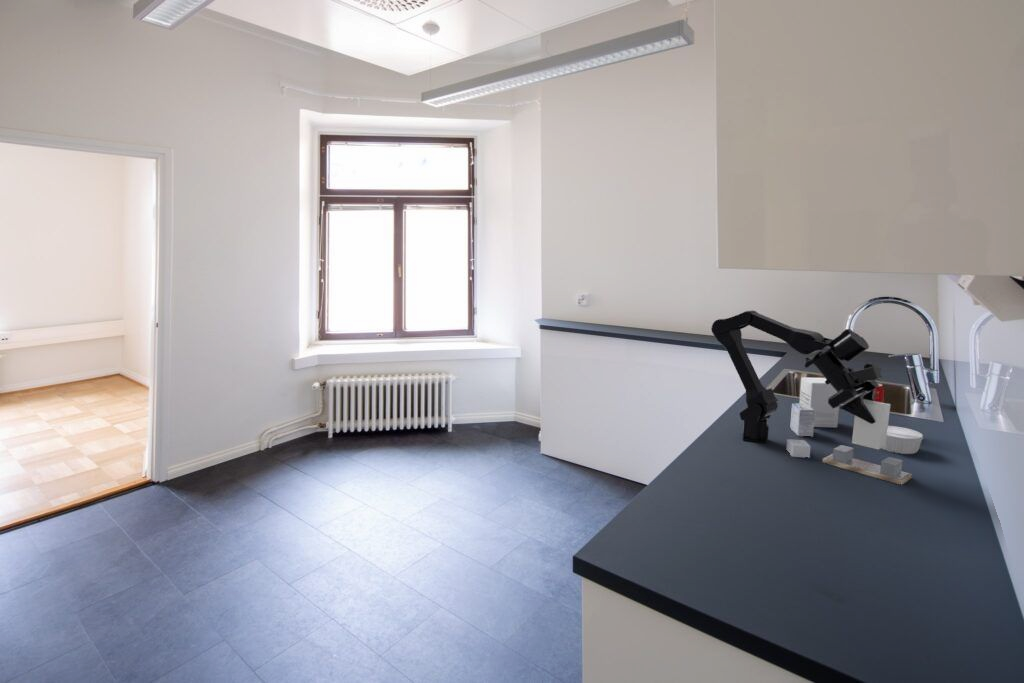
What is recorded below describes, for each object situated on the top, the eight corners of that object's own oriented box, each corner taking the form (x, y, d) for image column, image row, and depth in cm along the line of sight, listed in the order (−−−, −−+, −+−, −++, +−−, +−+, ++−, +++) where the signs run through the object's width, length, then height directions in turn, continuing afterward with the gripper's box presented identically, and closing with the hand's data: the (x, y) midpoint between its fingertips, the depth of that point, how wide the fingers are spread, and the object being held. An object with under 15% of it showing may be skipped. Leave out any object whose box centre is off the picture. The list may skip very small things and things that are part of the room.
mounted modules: (832, 459, 139) (833, 448, 139) (840, 455, 142) (841, 444, 142) (894, 476, 128) (895, 465, 128) (901, 471, 131) (902, 460, 131)
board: (822, 462, 140) (822, 458, 140) (833, 456, 145) (833, 453, 144) (901, 485, 126) (902, 481, 126) (911, 477, 130) (912, 474, 130)
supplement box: (825, 420, 178) (829, 377, 176) (837, 428, 169) (842, 383, 167) (797, 418, 179) (800, 376, 177) (808, 427, 170) (812, 382, 168)
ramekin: (890, 455, 145) (892, 437, 145) (864, 442, 156) (866, 425, 156) (931, 456, 145) (933, 438, 144) (902, 442, 156) (904, 425, 155)
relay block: (791, 457, 145) (793, 445, 144) (786, 450, 149) (787, 439, 149) (809, 458, 144) (810, 446, 143) (803, 451, 149) (804, 440, 148)
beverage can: (886, 432, 165) (891, 386, 163) (865, 431, 165) (870, 386, 163) (873, 426, 171) (878, 381, 169) (853, 426, 171) (858, 381, 169)
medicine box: (813, 437, 160) (815, 410, 159) (797, 436, 161) (799, 409, 160) (804, 429, 168) (806, 403, 167) (789, 428, 169) (791, 402, 167)
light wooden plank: (825, 458, 140) (825, 458, 140) (835, 454, 144) (835, 453, 144) (900, 479, 127) (900, 479, 127) (908, 473, 130) (909, 473, 130)
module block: (851, 443, 135) (856, 402, 134) (859, 439, 138) (863, 399, 137) (878, 449, 131) (883, 407, 129) (885, 445, 134) (890, 404, 132)
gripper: (846, 357, 128) (894, 410, 121) (874, 349, 140) (919, 398, 133) (809, 382, 136) (852, 434, 129) (838, 373, 147) (879, 420, 140)
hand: (877, 420), depth 132 cm, fingers closed on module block, 5 cm apart
